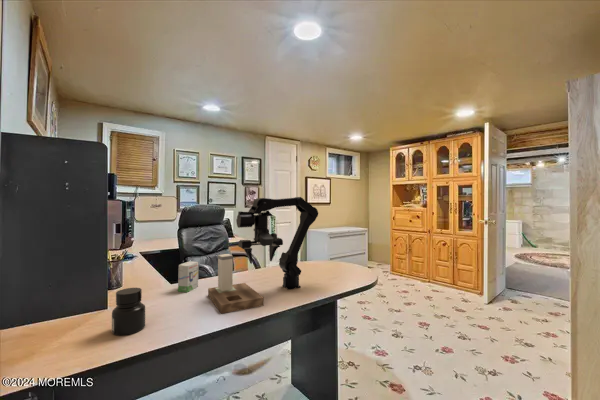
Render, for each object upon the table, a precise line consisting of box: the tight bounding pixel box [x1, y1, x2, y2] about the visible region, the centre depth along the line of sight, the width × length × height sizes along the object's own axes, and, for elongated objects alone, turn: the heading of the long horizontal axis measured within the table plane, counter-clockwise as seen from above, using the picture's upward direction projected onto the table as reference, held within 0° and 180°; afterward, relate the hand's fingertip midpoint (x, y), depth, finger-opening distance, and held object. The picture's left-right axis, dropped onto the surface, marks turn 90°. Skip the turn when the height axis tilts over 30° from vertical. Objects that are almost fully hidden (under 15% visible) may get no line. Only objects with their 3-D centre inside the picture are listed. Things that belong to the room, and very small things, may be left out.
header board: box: [207, 282, 264, 315], centre depth 113 cm, size 16×22×3 cm
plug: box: [217, 253, 234, 291], centre depth 118 cm, size 5×5×14 cm
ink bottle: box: [111, 287, 146, 336], centre depth 88 cm, size 10×9×12 cm
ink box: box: [177, 260, 199, 293], centre depth 127 cm, size 9×5×12 cm, turn 168°
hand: (261, 262), depth 123 cm, fingers open, 9 cm apart
